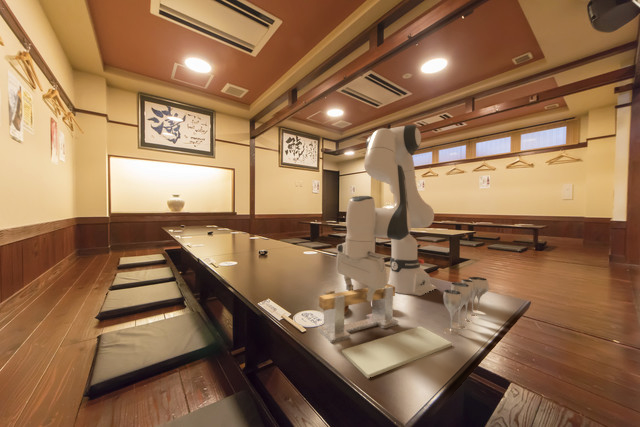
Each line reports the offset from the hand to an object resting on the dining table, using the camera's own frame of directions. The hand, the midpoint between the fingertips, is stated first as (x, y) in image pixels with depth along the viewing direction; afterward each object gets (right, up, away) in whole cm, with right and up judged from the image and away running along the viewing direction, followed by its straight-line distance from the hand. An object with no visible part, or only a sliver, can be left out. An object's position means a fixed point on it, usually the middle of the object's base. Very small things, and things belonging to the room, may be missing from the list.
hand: (358, 295), depth 73 cm
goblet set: (+36, -11, +6) cm, 38 cm away
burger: (-6, -10, +13) cm, 17 cm away
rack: (0, -10, 0) cm, 10 cm away
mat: (+8, -10, -11) cm, 17 cm away
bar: (0, -2, 0) cm, 2 cm away
